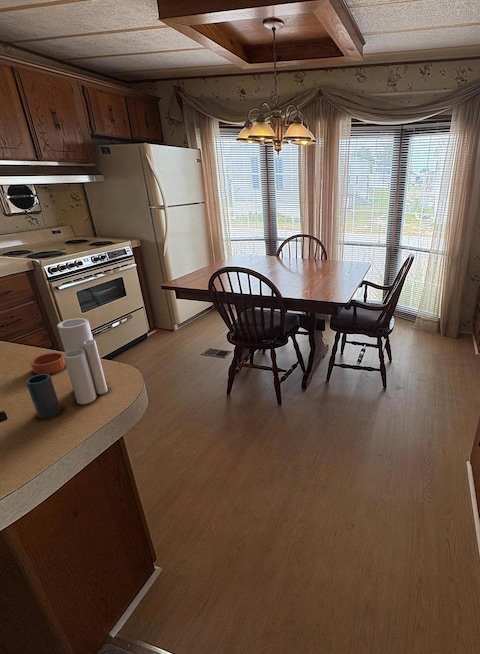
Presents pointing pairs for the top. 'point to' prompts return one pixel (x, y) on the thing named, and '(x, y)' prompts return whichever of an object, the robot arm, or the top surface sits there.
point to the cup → (43, 395)
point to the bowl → (48, 363)
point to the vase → (82, 360)
